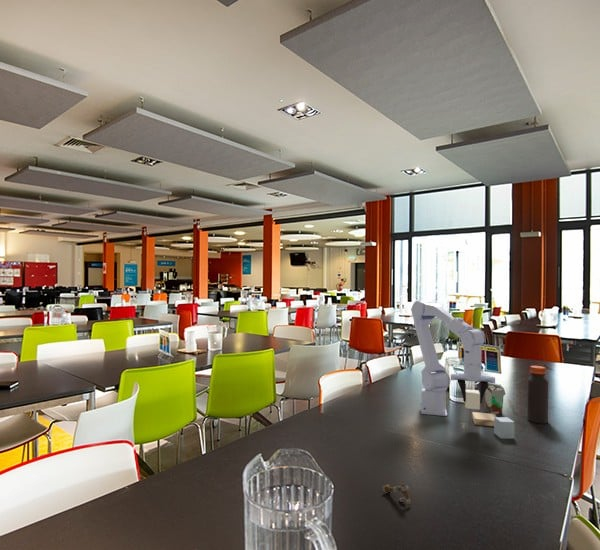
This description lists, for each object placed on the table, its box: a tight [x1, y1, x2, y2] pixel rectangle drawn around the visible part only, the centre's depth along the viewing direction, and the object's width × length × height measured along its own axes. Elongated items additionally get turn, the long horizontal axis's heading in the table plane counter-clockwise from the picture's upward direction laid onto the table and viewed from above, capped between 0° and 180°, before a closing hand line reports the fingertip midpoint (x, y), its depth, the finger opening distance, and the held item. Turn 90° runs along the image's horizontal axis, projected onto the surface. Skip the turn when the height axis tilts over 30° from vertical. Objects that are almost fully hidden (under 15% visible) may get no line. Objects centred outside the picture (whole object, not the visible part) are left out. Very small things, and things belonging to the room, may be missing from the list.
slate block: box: [493, 416, 515, 440], centre depth 140 cm, size 4×4×6 cm
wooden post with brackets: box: [382, 483, 412, 507], centre depth 98 cm, size 2×8×4 cm, turn 31°
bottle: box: [526, 365, 549, 425], centre depth 155 cm, size 7×7×20 cm
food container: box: [484, 383, 506, 417], centre depth 164 cm, size 12×6×10 cm, turn 168°
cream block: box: [464, 388, 481, 410], centre depth 148 cm, size 4×4×6 cm
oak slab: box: [471, 411, 497, 427], centre depth 154 cm, size 8×8×2 cm
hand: (472, 401), depth 148 cm, fingers closed on cream block, 4 cm apart
